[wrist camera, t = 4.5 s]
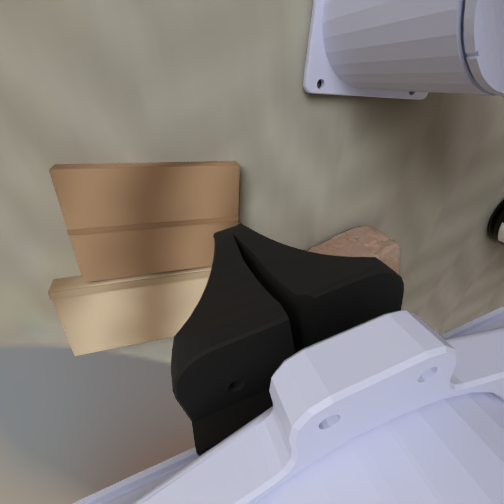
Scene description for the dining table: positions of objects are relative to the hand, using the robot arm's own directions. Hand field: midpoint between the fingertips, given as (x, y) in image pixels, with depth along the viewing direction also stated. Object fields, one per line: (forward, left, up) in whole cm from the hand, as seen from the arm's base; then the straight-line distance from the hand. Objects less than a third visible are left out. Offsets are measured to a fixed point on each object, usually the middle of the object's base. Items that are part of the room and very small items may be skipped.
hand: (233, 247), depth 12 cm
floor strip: (+3, +8, -7) cm, 12 cm away
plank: (+3, +2, -7) cm, 8 cm away
